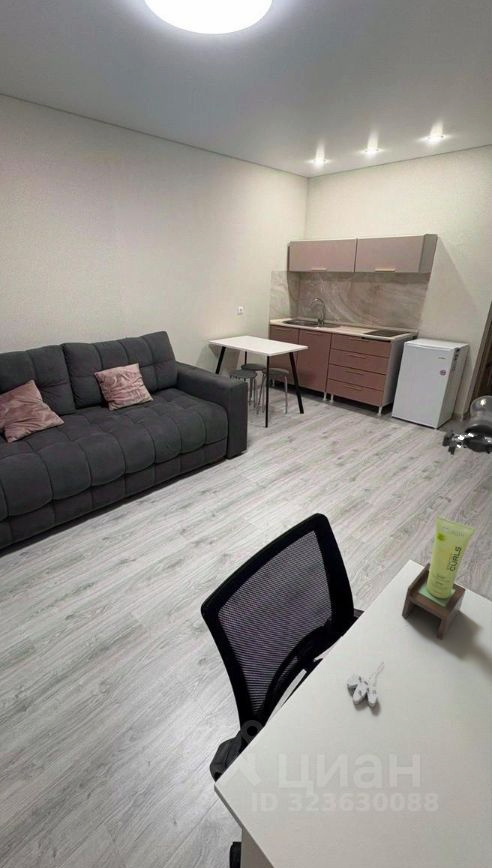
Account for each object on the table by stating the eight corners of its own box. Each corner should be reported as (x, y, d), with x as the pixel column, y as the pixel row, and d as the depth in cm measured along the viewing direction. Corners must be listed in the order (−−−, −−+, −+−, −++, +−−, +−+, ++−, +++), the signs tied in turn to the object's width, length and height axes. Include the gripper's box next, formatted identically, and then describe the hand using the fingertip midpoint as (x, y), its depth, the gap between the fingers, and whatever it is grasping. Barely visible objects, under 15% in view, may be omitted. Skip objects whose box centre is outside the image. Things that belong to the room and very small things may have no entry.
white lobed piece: (343, 698, 78) (344, 689, 77) (355, 651, 87) (357, 642, 86) (373, 714, 75) (375, 704, 74) (383, 663, 85) (385, 654, 84)
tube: (430, 600, 92) (449, 529, 85) (419, 583, 97) (436, 514, 89) (454, 599, 92) (475, 528, 85) (442, 582, 97) (460, 514, 90)
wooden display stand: (421, 589, 104) (428, 562, 101) (459, 610, 98) (468, 582, 95) (401, 615, 96) (407, 587, 93) (441, 639, 90) (449, 610, 87)
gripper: (453, 413, 105) (442, 433, 93) (519, 426, 97) (517, 449, 85) (447, 439, 108) (435, 461, 96) (511, 454, 100) (507, 480, 88)
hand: (474, 456), depth 91 cm, fingers open, 8 cm apart
